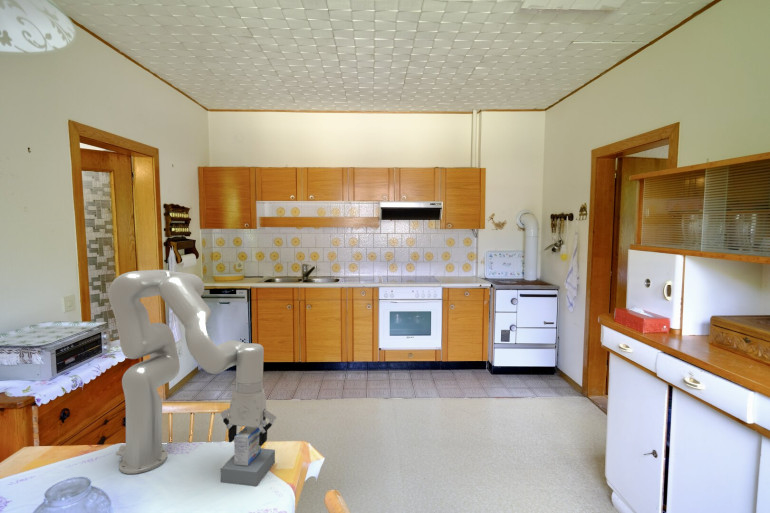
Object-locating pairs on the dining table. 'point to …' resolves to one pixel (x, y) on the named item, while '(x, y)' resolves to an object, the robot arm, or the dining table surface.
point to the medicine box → (246, 446)
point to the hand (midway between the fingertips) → (247, 441)
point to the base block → (248, 469)
